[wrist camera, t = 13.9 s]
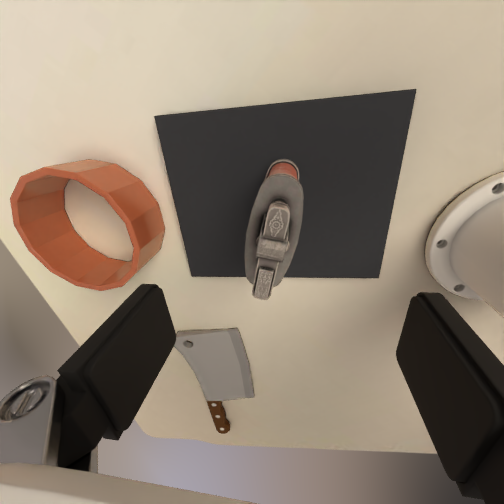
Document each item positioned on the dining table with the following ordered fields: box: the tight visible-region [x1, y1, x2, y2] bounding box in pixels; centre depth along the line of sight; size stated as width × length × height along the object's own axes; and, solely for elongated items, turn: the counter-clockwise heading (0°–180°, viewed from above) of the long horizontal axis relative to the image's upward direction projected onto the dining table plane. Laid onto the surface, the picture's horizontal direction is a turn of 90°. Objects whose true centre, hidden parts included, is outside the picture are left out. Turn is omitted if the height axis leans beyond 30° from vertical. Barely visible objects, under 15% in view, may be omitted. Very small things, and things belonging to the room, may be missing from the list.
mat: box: [154, 89, 416, 278], centre depth 22 cm, size 20×16×1 cm
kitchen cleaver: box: [174, 328, 254, 434], centre depth 37 cm, size 24×1×10 cm
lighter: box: [245, 159, 304, 300], centre depth 18 cm, size 8×3×10 cm, turn 171°
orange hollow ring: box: [10, 159, 165, 291], centre depth 24 cm, size 12×12×5 cm
